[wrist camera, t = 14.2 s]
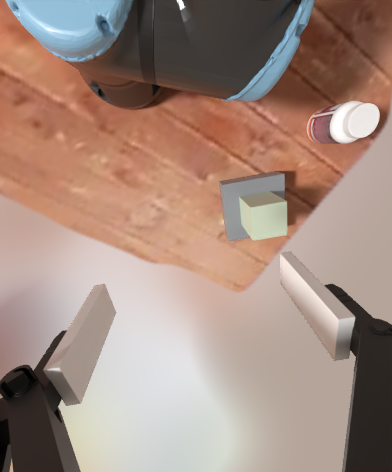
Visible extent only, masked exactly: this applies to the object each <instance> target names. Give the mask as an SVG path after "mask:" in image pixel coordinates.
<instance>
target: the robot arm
mask: <svg viewBox="0 0 392 472" xmlns="http://www.w3.org/2000/svg"><path fill="white" fill-rule="evenodd" d="M6 2H7V4H8V5H9V7H10V9H11V10H12V12H13V13H14V15H15V16H16V17H17V19H18V20H19V21H20V23H21V24H22V25H23V26H24V27H25V28H26V29H27V31H28V32H29V33H31V34H32V35H33V36H34V37H35V38H36V39H37V40H38V41H39V43H40V44H41V45H42V46H43V47H45V48H46V49H47V50H48V51H49V52H51V53H53V54H54V55H55V56H57V57H60V58H62V59H63V60H65V61H66V62H68V63H69V64H71V65H72V66H74V67H75V68H77V69H78V70H79V71H80V73H81V75H82V77H83V79H84V80H85V82H86V83H87V85H88V86H89V87H90V88H91V90H92V91H93V92H94V93H95V94H96V95H98V96H99V97H100V98H101V99H103V100H104V101H106V102H108V103H110V104H111V105H114V106H116V107H119V108H123V109H139V108H142V107H145V106H147V105H149V104H151V103H152V102H153V101H155V100H156V99H157V98H158V97H159V95H160V94H161V93H162V91H163V90H164V88H165V87H167V88H172V89H177V90H181V91H186V92H191V93H196V94H201V95H205V96H210V97H215V98H220V99H221V100H223V101H231V100H236V101H244V102H253V101H256V100H258V99H260V98H262V97H263V96H265V95H266V94H267V93H268V92H269V91H270V90H271V89H272V88H273V87H274V86H275V84H276V83H277V82H278V80H279V79H280V78H281V76H282V75H283V73H284V72H285V70H286V69H287V67H288V65H289V64H290V62H291V60H292V58H293V56H294V54H295V52H296V50H297V48H298V46H299V44H300V35H301V33H302V32H303V30H304V29H305V27H306V26H307V24H308V21H309V18H310V16H311V12H312V9H313V6H314V2H315V0H6ZM280 266H281V267H280V269H281V285H282V286H283V288H284V289H285V291H286V292H287V294H288V295H289V297H290V298H291V299H292V301H293V302H294V304H295V305H296V306H297V308H298V309H299V311H300V312H301V314H302V315H303V317H304V318H305V320H306V321H307V323H308V324H309V325H310V327H311V328H312V330H313V331H314V333H315V334H316V335H317V337H318V338H319V340H320V341H321V343H322V344H323V346H324V347H325V349H326V350H327V351H328V353H329V354H330V356H331V357H332V359H333V360H334V361H336V360H342V359H347V358H349V355H350V350H351V351H352V353H353V354H354V355H355V356H356V361H355V367H354V378H353V387H352V394H351V402H350V411H349V419H348V427H347V435H346V443H345V452H344V460H343V468H342V472H392V325H391V324H389V323H388V322H386V321H383V320H380V319H375V318H373V317H372V316H371V315H370V314H368V313H367V312H366V311H365V310H364V309H363V308H362V307H361V306H360V305H359V304H358V303H356V302H355V301H354V300H353V299H352V298H351V297H350V296H348V294H347V293H346V292H344V291H343V290H342V289H341V288H340V287H338V286H336V285H334V284H328V285H323V284H322V283H321V282H320V281H319V280H318V279H317V278H316V277H315V276H314V275H313V274H312V273H311V272H310V271H309V270H308V269H307V268H306V267H305V266H304V264H303V263H302V262H301V261H299V259H298V258H297V257H296V256H294V254H293V253H292V252H291V251H290V252H283V253H280ZM115 314H116V311H115V309H114V306H113V304H112V301H111V299H110V296H109V294H108V291H107V289H106V286H105V284H101V285H96V286H94V287H93V289H92V291H91V292H90V294H89V296H88V297H87V299H86V300H85V302H84V304H83V306H82V307H81V309H80V310H79V312H78V314H77V315H76V317H75V319H74V320H73V322H72V323H71V325H70V327H69V328H68V330H66V331H62V332H61V333H60V334H59V335H58V336H57V337H56V338H55V339H54V340H53V342H52V344H51V345H50V347H49V348H48V349H47V351H46V354H44V355H43V357H42V359H41V360H40V362H39V363H38V365H37V366H36V368H35V369H34V371H33V370H32V368H31V367H30V366H29V365H22V366H19V367H17V368H15V369H13V370H12V371H10V372H9V373H7V374H6V376H4V377H3V378H2V380H1V381H0V394H1V395H2V396H3V398H1V399H0V472H9V470H10V465H11V459H12V462H13V471H14V472H80V469H79V466H78V463H77V460H76V457H75V454H74V451H73V448H72V445H71V442H70V438H69V436H68V432H67V430H66V427H65V424H64V420H63V417H62V415H61V412H60V410H59V408H58V405H59V403H60V401H61V399H62V400H63V401H64V403H65V405H66V406H68V405H75V404H80V403H81V402H82V399H83V396H84V394H85V391H86V388H87V386H88V384H89V381H90V378H91V376H92V373H93V371H94V368H95V366H96V363H97V360H98V358H99V355H100V353H101V350H102V347H103V345H104V342H105V340H106V337H107V335H108V332H109V329H110V327H111V324H112V321H113V319H114V316H115Z"/></svg>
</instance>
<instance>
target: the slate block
mask: <svg viewBox="0 0 392 472" xmlns="http://www.w3.org/2000/svg"><path fill="white" fill-rule="evenodd" d="M219 184H220V192H221V200H222V208H223V216H224V224H225V232H226V236H227V238H228V240H229V241H233V240H239V239H245V238H250V236H249V235H248V233H247V232H246V230H245V229H244V228H243V226H242V223H241V213H240V202H239V196H245V195H251V194H256V193H262V192H267V191H270V192H272V193H273V194H275V195H277V196H279V197H281V198H282V199H284V200H285V174H284V173H280V172H277V171H275V172H269V173H264V174H258V175H253V176H247V177H242V178H236V179H231V180H225V181H219Z"/></svg>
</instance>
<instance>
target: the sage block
mask: <svg viewBox="0 0 392 472" xmlns="http://www.w3.org/2000/svg"><path fill="white" fill-rule="evenodd" d="M239 202H240V213H241V223H242V226H243V228H244V229H245V230H246V232H247V233H248V235H249V236H250V237H251V239H252V240H253V241H254V240H260V239H266V238H271V237H277V236H283V235H287V201H286V200H284V199H282V198H281V197H279V196H277V195H275V194H273V193H272V192H270V191H267V192H262V193H256V194H251V195H245V196H239Z"/></svg>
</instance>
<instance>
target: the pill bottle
mask: <svg viewBox="0 0 392 472" xmlns="http://www.w3.org/2000/svg"><path fill="white" fill-rule="evenodd" d="M379 117H380V114H379V110H378V108H377V107H376V106H375V105H374V104H371V103H362V102H360V101H350V102H346V103H342V104H338V105H334V106H330V107H326V108H322V109H320V110H318V111H316V112H315V113H314V114H313V115H312V116H311V118H310V120H309V122H308V125H307V134H308V137H309V138H310V140H312V141H313V142H315V143H320V144H326V143H327V144H328V143H350V142H353V141H355V140H357V139H358V138H363V137H366V136H368V135H369V134H371V133H372V132H373V131H374V129H375V128H376V126H377V124H378V122H379Z"/></svg>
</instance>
